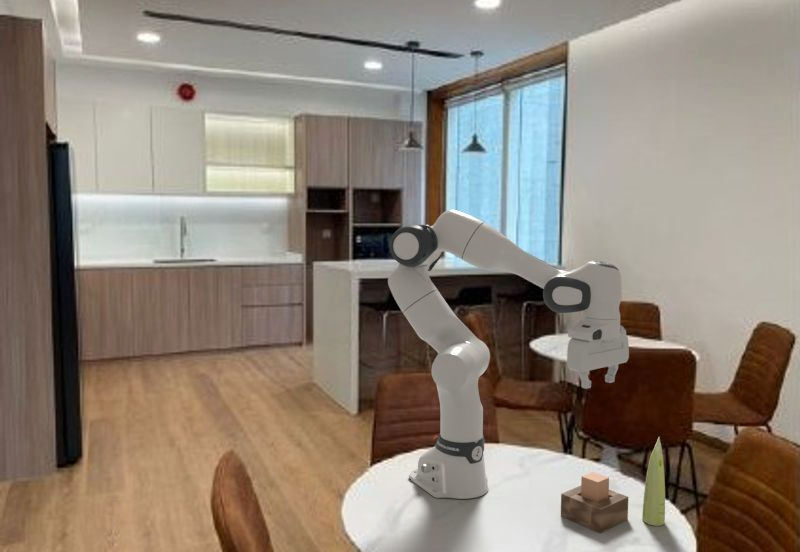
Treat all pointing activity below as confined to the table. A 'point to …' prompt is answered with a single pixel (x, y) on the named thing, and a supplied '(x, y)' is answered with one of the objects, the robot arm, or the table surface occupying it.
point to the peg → (595, 487)
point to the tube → (655, 489)
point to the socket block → (594, 510)
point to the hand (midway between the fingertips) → (598, 384)
